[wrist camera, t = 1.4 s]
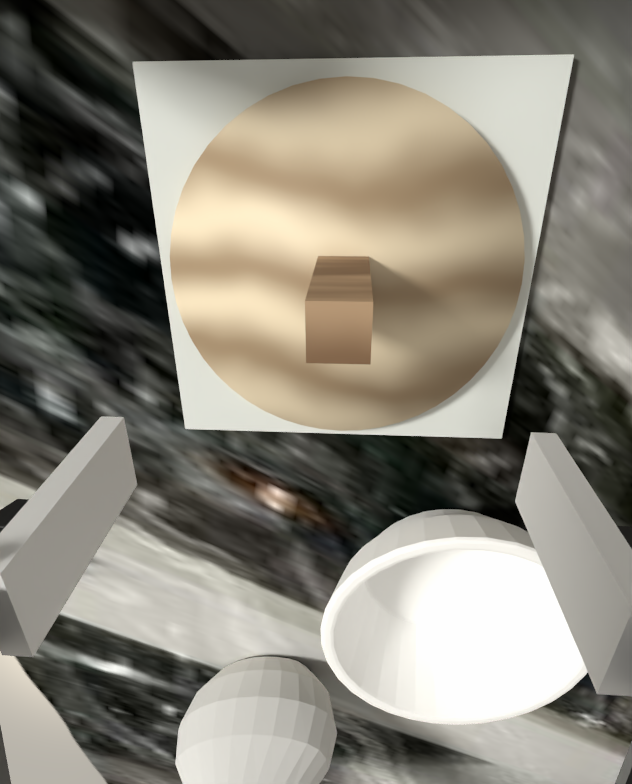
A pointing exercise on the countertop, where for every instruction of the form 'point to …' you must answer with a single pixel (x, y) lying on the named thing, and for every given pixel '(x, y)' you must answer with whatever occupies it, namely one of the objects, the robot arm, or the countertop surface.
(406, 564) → the bowl
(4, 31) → the countertop surface
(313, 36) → the countertop surface
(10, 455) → the countertop surface
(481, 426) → the mat
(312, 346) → the lid
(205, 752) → the soap bottle
